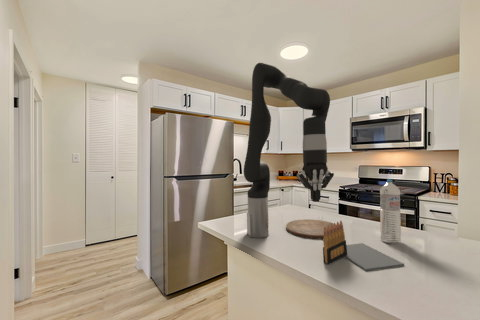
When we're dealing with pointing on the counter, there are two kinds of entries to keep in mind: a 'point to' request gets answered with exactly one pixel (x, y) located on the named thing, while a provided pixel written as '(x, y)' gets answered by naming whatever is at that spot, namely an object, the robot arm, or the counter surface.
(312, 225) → the trivet
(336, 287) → the counter surface
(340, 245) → the ammunition clip
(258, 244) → the counter surface
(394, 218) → the water bottle
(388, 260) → the slate mat
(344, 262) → the counter surface
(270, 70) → the robot arm
